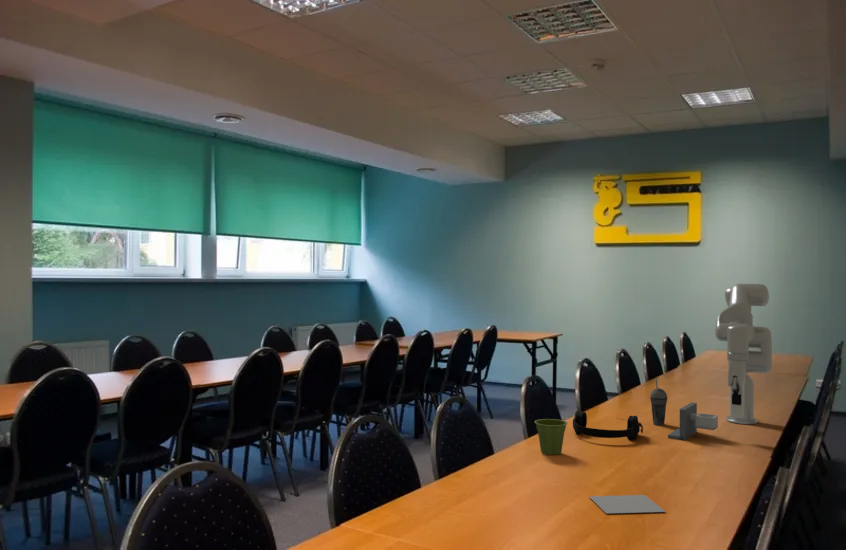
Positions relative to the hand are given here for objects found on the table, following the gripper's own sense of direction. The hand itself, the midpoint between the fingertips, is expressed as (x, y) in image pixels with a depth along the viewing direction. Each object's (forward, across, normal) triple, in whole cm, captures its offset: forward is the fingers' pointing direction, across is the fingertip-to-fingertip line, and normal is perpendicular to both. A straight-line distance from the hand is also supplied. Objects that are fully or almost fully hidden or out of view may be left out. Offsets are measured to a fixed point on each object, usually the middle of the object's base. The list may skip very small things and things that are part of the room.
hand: (737, 403), depth 259 cm
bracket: (+15, +3, -15) cm, 22 cm away
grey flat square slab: (+13, +93, -10) cm, 94 cm away
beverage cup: (+15, -11, -34) cm, 39 cm away
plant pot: (+14, +61, -51) cm, 81 cm away
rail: (+5, 0, 0) cm, 5 cm away
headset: (+15, +22, -44) cm, 52 cm away
